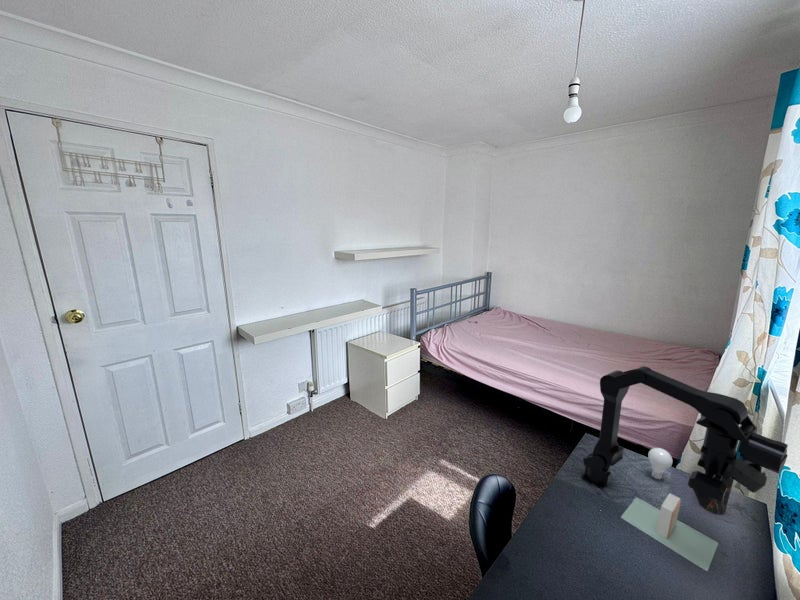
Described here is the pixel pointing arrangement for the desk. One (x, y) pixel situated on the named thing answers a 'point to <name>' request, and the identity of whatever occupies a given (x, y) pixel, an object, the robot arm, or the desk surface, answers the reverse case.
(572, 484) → the desk surface
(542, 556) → the desk surface
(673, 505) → the block
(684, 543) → the mat
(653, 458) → the lightbulb
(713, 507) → the deodorant
